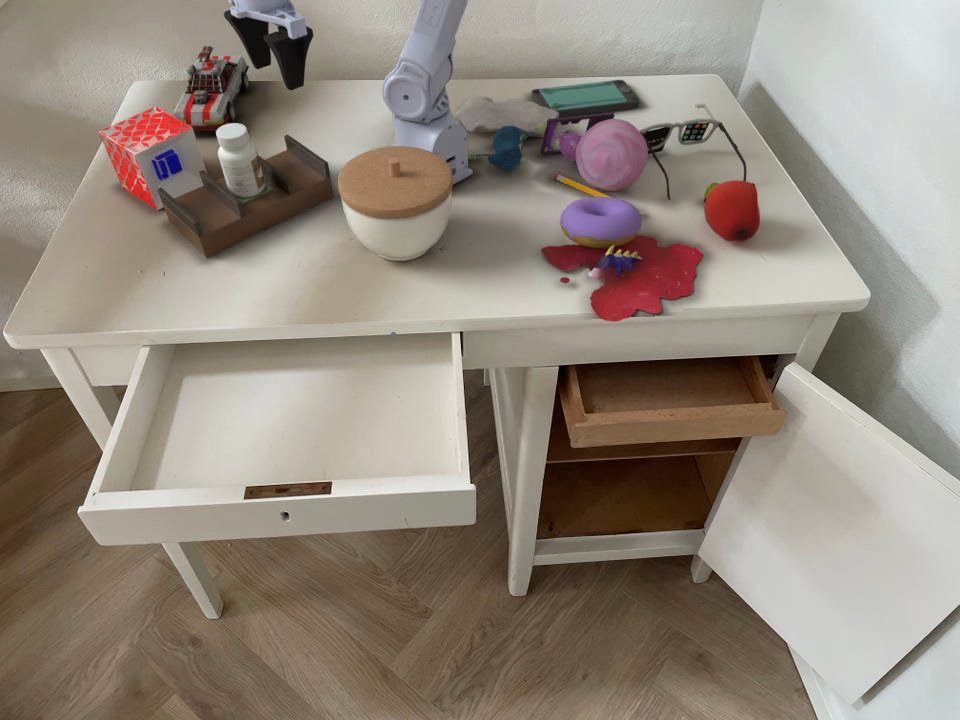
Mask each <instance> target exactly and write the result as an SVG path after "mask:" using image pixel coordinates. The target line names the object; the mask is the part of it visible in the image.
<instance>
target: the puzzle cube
mask: <svg viewBox="0 0 960 720" xmlns="http://www.w3.org/2000/svg"><path fill="white" fill-rule="evenodd" d="M98 134H99V137H100V139H101V142H102V144H103V146H104V149H105V151H106V153H107V156H108V158H109V160H110V163H111V165H112V167H113V169H114V172H115V174H116V177H117V178H118V181H119V184H120V185H121V188H123V189H124V190H126V191H127V192H128V193H130V194H131V195H133V196H134V197H136V198H138V199H139V200H141V201H143V202H144V203H145V204H147V205H148V206H150V207H151V208H153V209H155V211H159V210H161V209H164V207H163V204H162V201H161V199H160V196H159V194H158V191H157V189H159V188H163V189H164V190H165V191H166V192H167V193H168V194H169V195H170V196H171V197H172V198H176V197H179V196H181V195H183V194H185V193H188V192H190V191H192V190H195V189H197V188H199V187H202V186H204V185H203V183H202V180H201V177H200V173H199V171H202V170H204V171H205V172H206V173H207V174H208V171H207V169H206V166H205V162H204V160H203V159H204V158H203V156H202V153H201V150H200V147H199V144H198V140H197V138H196V133H195V130H193V128H192V127H190V126H189V125H187V124H185V123H183V122H182V121H180V120H178V119H176V118H174V117H173V116H172V115H171V114H169V113H167V112H165V111H163V110H162V109H160V108H158V107H157V106H154V107H152V108H151V107H150V108H149V109H146V110H145V111H142V112H139V113H138V114H135V115H133V116H131V117H129V118H126V119H124V120H122V121H119V122H117V123H115V124H112V125H110V126H107V127H105V128H103V129H101V130H99V131H98Z"/></svg>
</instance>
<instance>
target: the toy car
mask: <svg viewBox="0 0 960 720" xmlns="http://www.w3.org/2000/svg"><path fill="white" fill-rule="evenodd" d="M213 50H214V47H213V46H212V45H204V46H203V47H202V49H201V51H200V52H199V53H198V55H197V56H196V60H195V62H194V63H190V64H188V66H187V68H186V72H187V74H188V77H187V80H186V83H185V86H184V90H183V93H182V94H181V97H180V99H179V100H178V103H177V104H176V107H175V108H174V110H173V112H172V115H171V116H173V117H174V118H176V119H178V120H180V121H182V122H183V123H185V124H187V125H189V126H190V127H192V128H193V131H217V129H218V128H220V127H221V126H223V125H226V124H228V123H235V121H236V109H235V106H234V103H235V100H236V99H237V96H238V95H239V92H240V91H242V92H246V91H248V90H249V88H250V80H249V76H248V74H247V73H248V71H249V68H250V65H248V64H247V62H246V60H245V58H244V57H243V56H241V55H212V52H213Z"/></svg>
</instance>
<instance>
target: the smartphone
mask: <svg viewBox="0 0 960 720" xmlns="http://www.w3.org/2000/svg"><path fill="white" fill-rule="evenodd" d="M530 97H531V100H532V102H534V103H537V104H538V105H539V106H542V107H547V108H549V109H552V110H554V111H556V112H559V117H558V118H561V117H570V116H580V115H590V114H600V113H608V112H614V111H623V110H630V109H637V108H640V107H639V106H640V100H641V99H640V98H639V96H638V95H636V93H635V92H634V91H633V90H632V89H631V87H630V86H629V84H627V82H626V81H625V80H623V79H614V80H606V81H596V82H588V83H577V84H571V85H569V84H568V85H560V86H553V87H544V88H535V89H532V90H531V95H530Z"/></svg>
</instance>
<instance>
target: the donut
mask: <svg viewBox="0 0 960 720" xmlns="http://www.w3.org/2000/svg"><path fill="white" fill-rule="evenodd" d="M611 197H612V196H610V197H595V196H591V197H590V196H589V197H584V198H580V199H577V200H574V201H572V202H571V203H569V204H568V205H566V207H565V208H564V209H563V210H562V212H561V215H560V217H559V224H560V229H561V231H562V232H563V235H564V236H565V237H566V238H568V240H570V241H571V242H573V243H574V244H577V245H583V246H587V247H593V248H610V247H612V246H614V245H615V247H617V246H620V245H623V244H626V243H628V242H629V241H631V240H633V239H634V238H635V237H636V235H639V233H640V230H641V228H642V225H643V219H642V214H640V213H639V211H638V210H639V209H638V208H637V207H636V206H635V205H633V204H632V203H631V202H629V201H626V200H624V199H622V198H621V199H620V198H617V197H612V198H611Z"/></svg>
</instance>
